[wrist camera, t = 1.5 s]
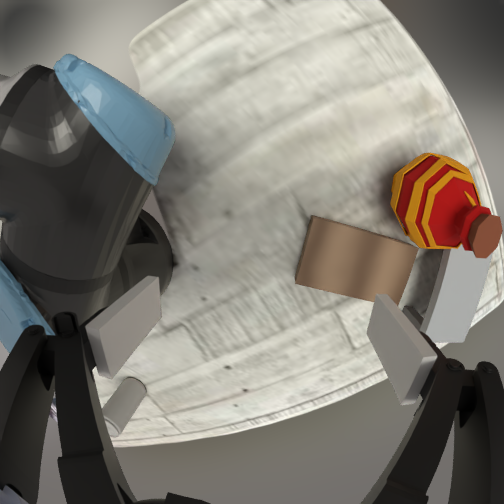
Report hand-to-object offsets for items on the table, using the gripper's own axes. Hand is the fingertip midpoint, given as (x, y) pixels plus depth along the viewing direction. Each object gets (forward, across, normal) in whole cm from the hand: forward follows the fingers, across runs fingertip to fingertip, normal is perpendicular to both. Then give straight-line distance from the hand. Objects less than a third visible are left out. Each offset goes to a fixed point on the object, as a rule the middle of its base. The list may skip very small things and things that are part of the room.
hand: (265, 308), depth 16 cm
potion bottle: (+18, +16, +9) cm, 26 cm away
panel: (+19, +11, -2) cm, 22 cm away
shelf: (+18, +24, -1) cm, 30 cm away
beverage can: (+19, -23, -29) cm, 41 cm away
